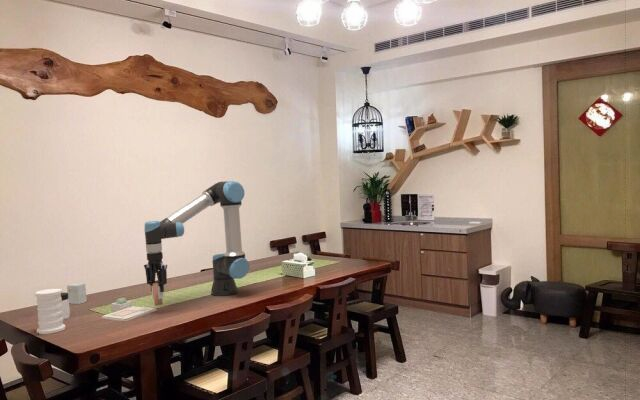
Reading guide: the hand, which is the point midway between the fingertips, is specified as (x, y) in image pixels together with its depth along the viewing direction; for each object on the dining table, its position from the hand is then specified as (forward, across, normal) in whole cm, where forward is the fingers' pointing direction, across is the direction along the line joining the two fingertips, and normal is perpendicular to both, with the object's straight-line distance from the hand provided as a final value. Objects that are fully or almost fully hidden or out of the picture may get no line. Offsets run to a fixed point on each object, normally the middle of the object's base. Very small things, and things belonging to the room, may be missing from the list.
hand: (158, 298), depth 254 cm
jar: (+7, +42, +24) cm, 49 cm away
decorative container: (+7, +27, +40) cm, 49 cm away
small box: (+7, +63, -2) cm, 64 cm away
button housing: (+7, +25, +1) cm, 26 cm away
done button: (+6, +25, +1) cm, 26 cm away
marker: (+3, 0, 0) cm, 3 cm away
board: (+7, +12, +8) cm, 16 cm away
